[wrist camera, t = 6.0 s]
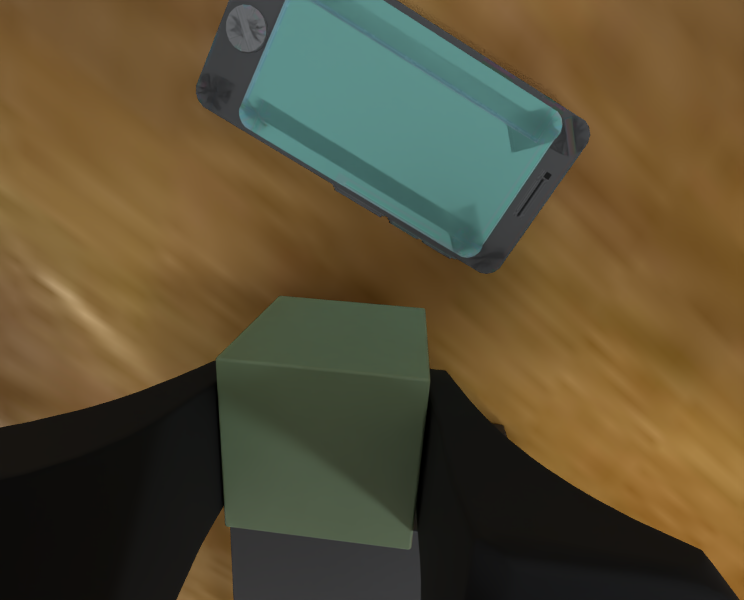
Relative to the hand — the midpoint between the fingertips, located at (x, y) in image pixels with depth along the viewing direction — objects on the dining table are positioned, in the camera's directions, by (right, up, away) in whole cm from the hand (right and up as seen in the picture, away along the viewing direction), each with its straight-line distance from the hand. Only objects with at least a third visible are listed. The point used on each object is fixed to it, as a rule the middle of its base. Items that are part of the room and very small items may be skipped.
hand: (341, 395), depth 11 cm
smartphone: (+1, +10, +8) cm, 13 cm away
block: (0, +1, +1) cm, 1 cm away
